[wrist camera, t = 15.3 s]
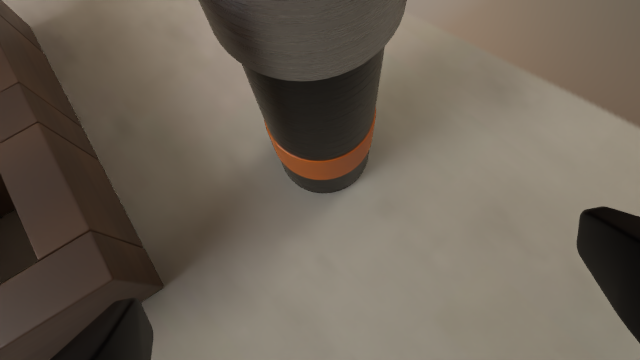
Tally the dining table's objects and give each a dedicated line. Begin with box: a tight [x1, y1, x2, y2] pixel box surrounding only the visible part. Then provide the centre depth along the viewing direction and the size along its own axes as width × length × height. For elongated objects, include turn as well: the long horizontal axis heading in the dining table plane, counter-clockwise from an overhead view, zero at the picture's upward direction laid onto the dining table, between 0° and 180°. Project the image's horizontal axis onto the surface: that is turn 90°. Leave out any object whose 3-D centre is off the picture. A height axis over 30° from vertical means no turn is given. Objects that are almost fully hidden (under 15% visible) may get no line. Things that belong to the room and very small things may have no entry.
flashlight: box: [199, 0, 407, 193], centre depth 13 cm, size 4×4×13 cm
